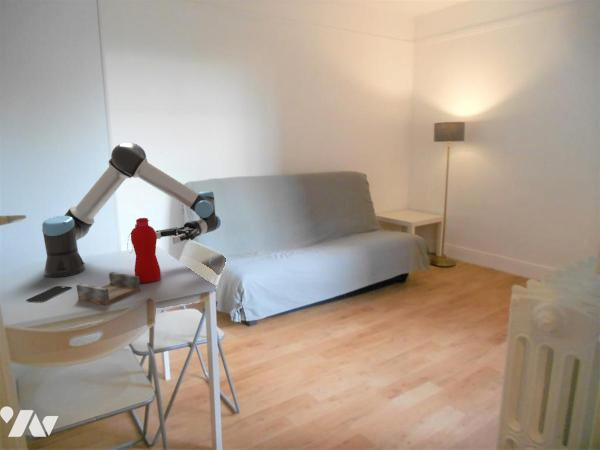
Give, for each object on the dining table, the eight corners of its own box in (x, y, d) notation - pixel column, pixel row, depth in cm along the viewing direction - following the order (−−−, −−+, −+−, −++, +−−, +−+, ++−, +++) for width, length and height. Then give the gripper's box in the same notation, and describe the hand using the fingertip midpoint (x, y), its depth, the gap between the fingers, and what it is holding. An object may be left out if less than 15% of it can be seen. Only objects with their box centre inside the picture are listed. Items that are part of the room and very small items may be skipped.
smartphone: (73, 286, 157) (42, 301, 143) (74, 288, 157) (43, 303, 143) (56, 285, 159) (24, 300, 144) (56, 287, 159) (24, 302, 144)
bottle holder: (78, 299, 145) (76, 284, 144) (113, 285, 158) (112, 272, 157) (106, 305, 139) (104, 290, 138) (140, 290, 152) (138, 276, 151)
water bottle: (129, 279, 165) (122, 218, 159) (158, 274, 170) (152, 215, 165) (133, 286, 157) (125, 222, 151) (162, 280, 162) (156, 218, 157)
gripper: (217, 238, 183) (185, 250, 164) (174, 234, 194) (139, 245, 175) (216, 221, 181) (183, 232, 163) (173, 219, 192) (137, 228, 173)
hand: (160, 239), depth 169 cm, fingers open, 13 cm apart
